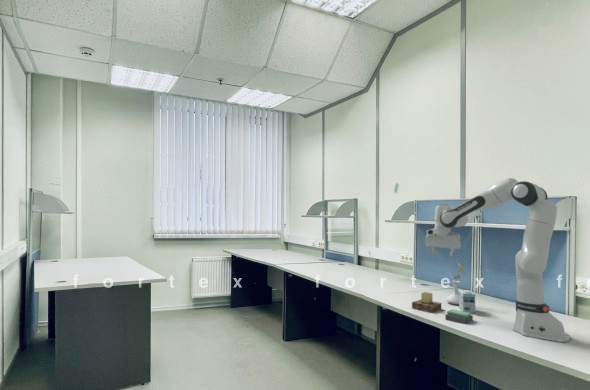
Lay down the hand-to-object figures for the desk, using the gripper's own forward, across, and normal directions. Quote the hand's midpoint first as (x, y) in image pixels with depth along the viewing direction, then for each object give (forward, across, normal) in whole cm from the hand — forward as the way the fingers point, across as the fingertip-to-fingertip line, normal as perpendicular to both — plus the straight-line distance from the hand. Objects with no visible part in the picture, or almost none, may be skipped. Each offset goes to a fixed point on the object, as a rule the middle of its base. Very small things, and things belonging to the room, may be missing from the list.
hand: (442, 255), depth 219 cm
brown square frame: (+31, +6, +7) cm, 32 cm away
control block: (+31, -16, +15) cm, 38 cm away
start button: (+30, -16, +15) cm, 37 cm away
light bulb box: (+31, -11, -8) cm, 34 cm away
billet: (+30, +6, +7) cm, 31 cm away
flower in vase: (+31, 0, -20) cm, 37 cm away
